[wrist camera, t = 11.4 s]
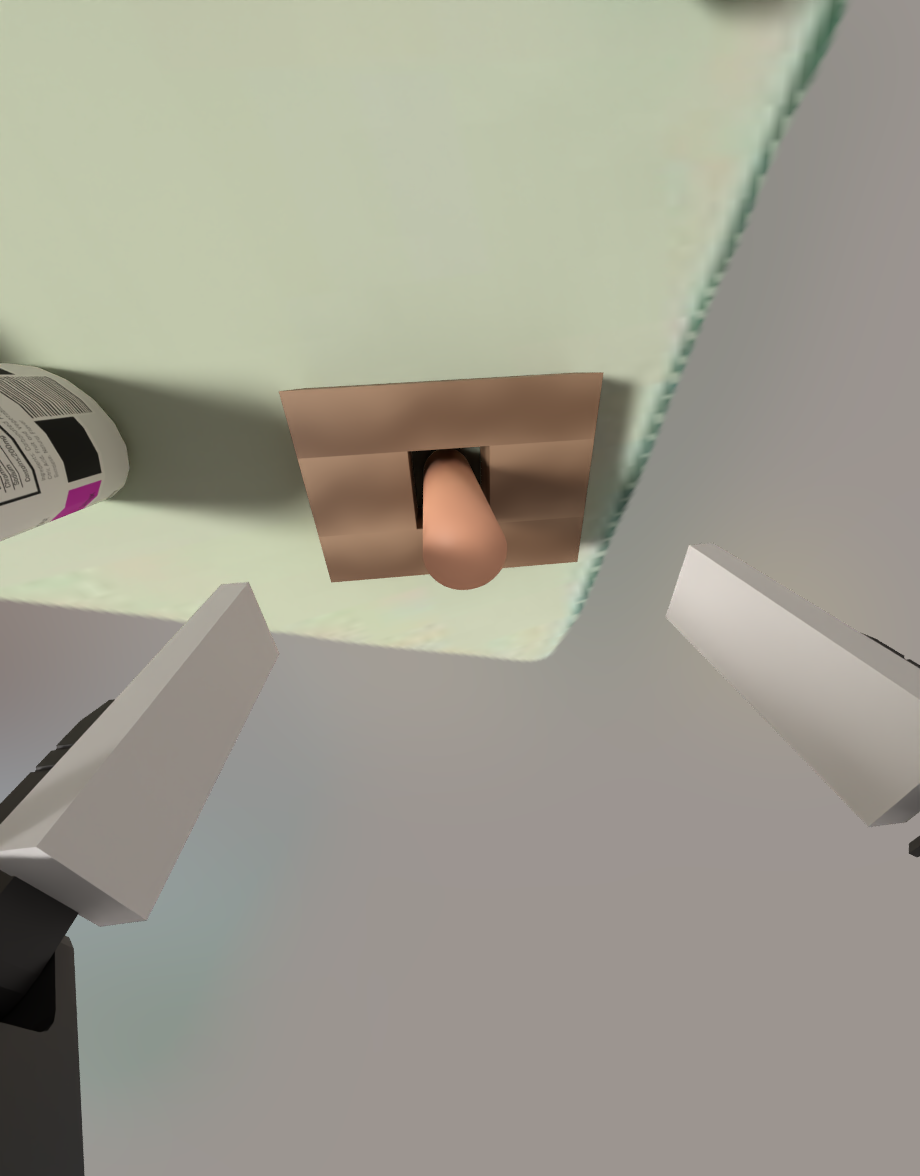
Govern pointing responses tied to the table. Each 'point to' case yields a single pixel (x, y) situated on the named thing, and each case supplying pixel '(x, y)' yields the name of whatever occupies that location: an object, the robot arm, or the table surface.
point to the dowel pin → (458, 524)
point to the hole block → (443, 421)
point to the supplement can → (53, 450)
